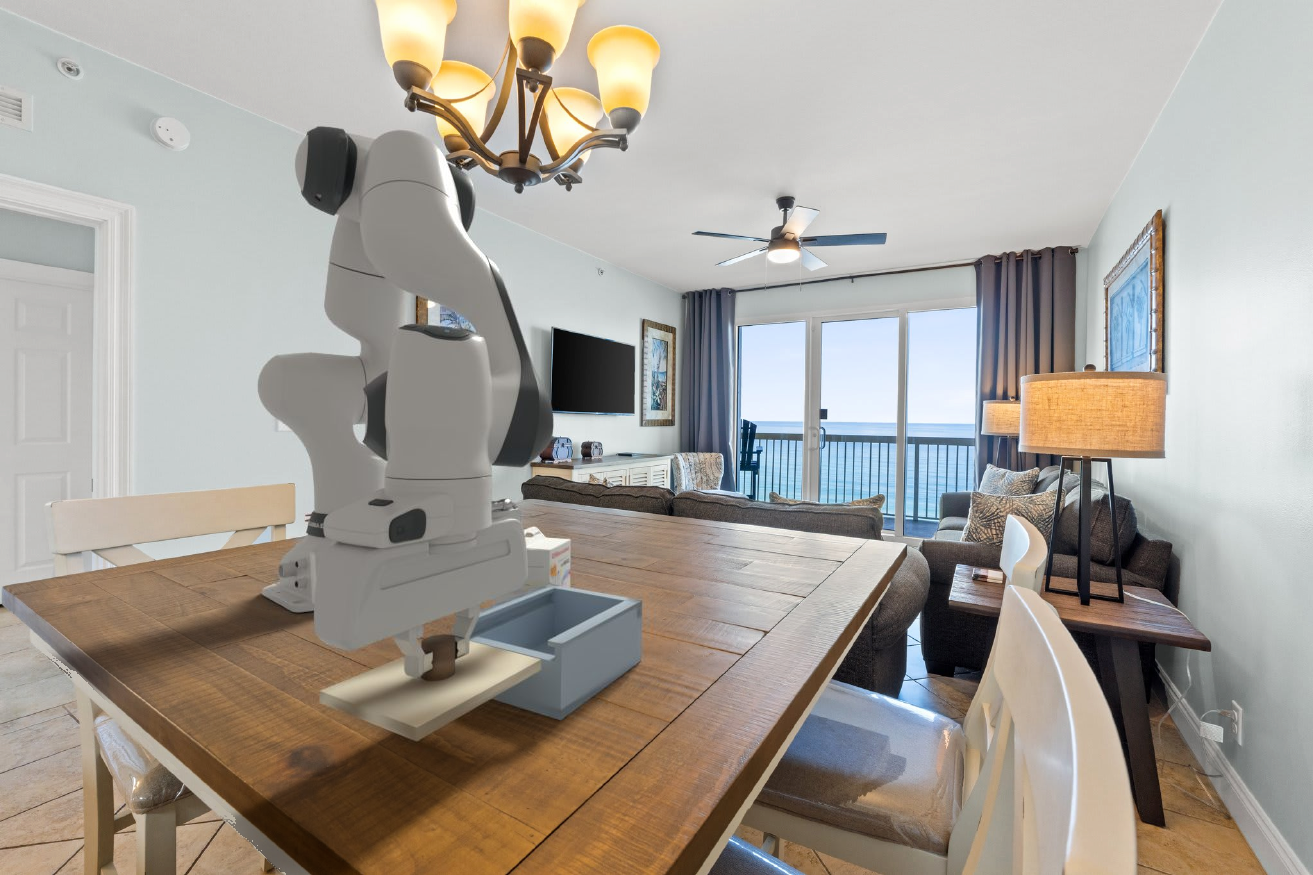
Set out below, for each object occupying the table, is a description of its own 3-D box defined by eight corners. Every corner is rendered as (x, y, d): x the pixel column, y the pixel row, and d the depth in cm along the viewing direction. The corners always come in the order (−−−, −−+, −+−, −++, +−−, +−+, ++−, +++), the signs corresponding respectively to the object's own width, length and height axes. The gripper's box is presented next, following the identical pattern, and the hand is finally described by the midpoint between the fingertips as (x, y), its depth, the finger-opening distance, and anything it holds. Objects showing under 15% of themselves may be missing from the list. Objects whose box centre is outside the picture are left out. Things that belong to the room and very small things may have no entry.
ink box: (548, 636, 76) (550, 537, 76) (491, 630, 78) (492, 534, 78) (571, 615, 85) (572, 526, 85) (518, 611, 87) (520, 523, 86)
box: (455, 687, 61) (456, 619, 61) (548, 639, 75) (549, 583, 75) (560, 720, 55) (561, 643, 54) (641, 660, 69) (642, 600, 69)
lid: (319, 702, 47) (319, 654, 47) (452, 645, 59) (453, 607, 59) (416, 741, 41) (417, 686, 41) (541, 669, 54) (541, 627, 54)
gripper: (496, 494, 61) (495, 623, 61) (301, 520, 42) (300, 704, 43) (543, 498, 58) (541, 634, 58) (356, 529, 39) (354, 726, 40)
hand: (438, 664), depth 50 cm, fingers closed on lid, 3 cm apart
